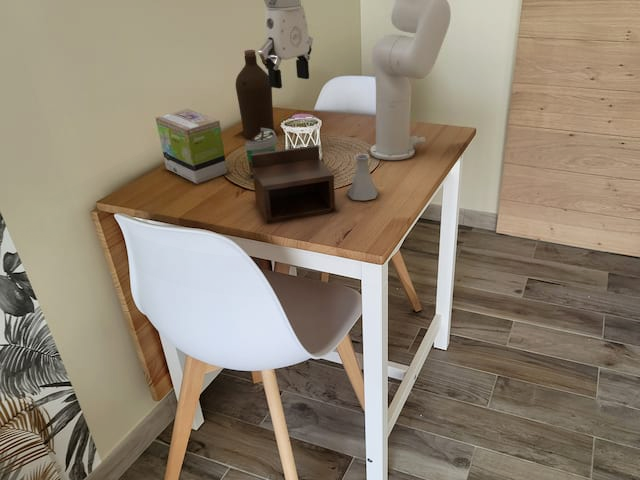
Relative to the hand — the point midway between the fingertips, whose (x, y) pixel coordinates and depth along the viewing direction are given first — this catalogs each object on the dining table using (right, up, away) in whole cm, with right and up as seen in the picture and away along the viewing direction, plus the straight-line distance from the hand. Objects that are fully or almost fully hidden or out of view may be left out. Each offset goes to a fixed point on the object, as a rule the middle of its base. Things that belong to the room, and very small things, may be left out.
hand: (289, 82), depth 131 cm
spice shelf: (+1, -28, +3) cm, 28 cm away
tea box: (-28, -17, +22) cm, 39 cm away
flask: (+17, -25, +8) cm, 31 cm away
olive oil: (-15, -1, +48) cm, 50 cm away
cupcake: (0, -7, +37) cm, 38 cm away
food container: (-8, -17, +22) cm, 29 cm away
